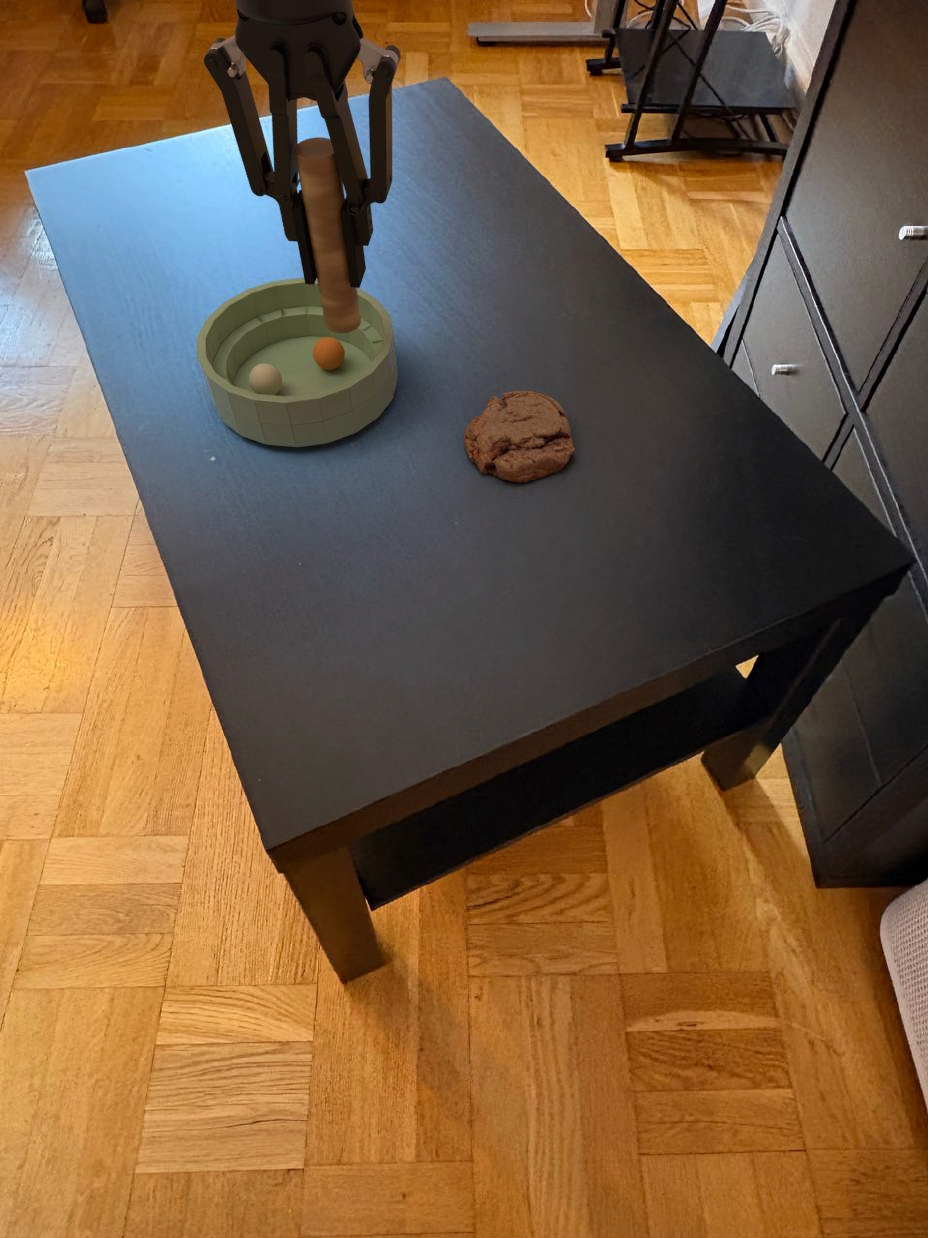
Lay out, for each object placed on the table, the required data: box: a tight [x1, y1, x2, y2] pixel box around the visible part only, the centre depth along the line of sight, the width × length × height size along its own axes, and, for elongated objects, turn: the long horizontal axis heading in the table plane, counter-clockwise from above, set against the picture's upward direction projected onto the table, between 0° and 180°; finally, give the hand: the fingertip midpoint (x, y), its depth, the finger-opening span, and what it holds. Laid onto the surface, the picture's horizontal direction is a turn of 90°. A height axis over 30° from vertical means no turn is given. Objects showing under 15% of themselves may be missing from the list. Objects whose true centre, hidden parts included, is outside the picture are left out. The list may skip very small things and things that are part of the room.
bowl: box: [196, 277, 399, 448], centre depth 79 cm, size 18×18×6 cm
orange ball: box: [313, 337, 345, 370], centre depth 80 cm, size 3×3×3 cm
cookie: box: [463, 390, 576, 484], centre depth 75 cm, size 10×11×3 cm
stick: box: [295, 136, 361, 333], centre depth 68 cm, size 3×3×15 cm
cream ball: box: [249, 363, 282, 395], centre depth 78 cm, size 3×3×3 cm
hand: (335, 275), depth 71 cm, fingers closed on stick, 3 cm apart
